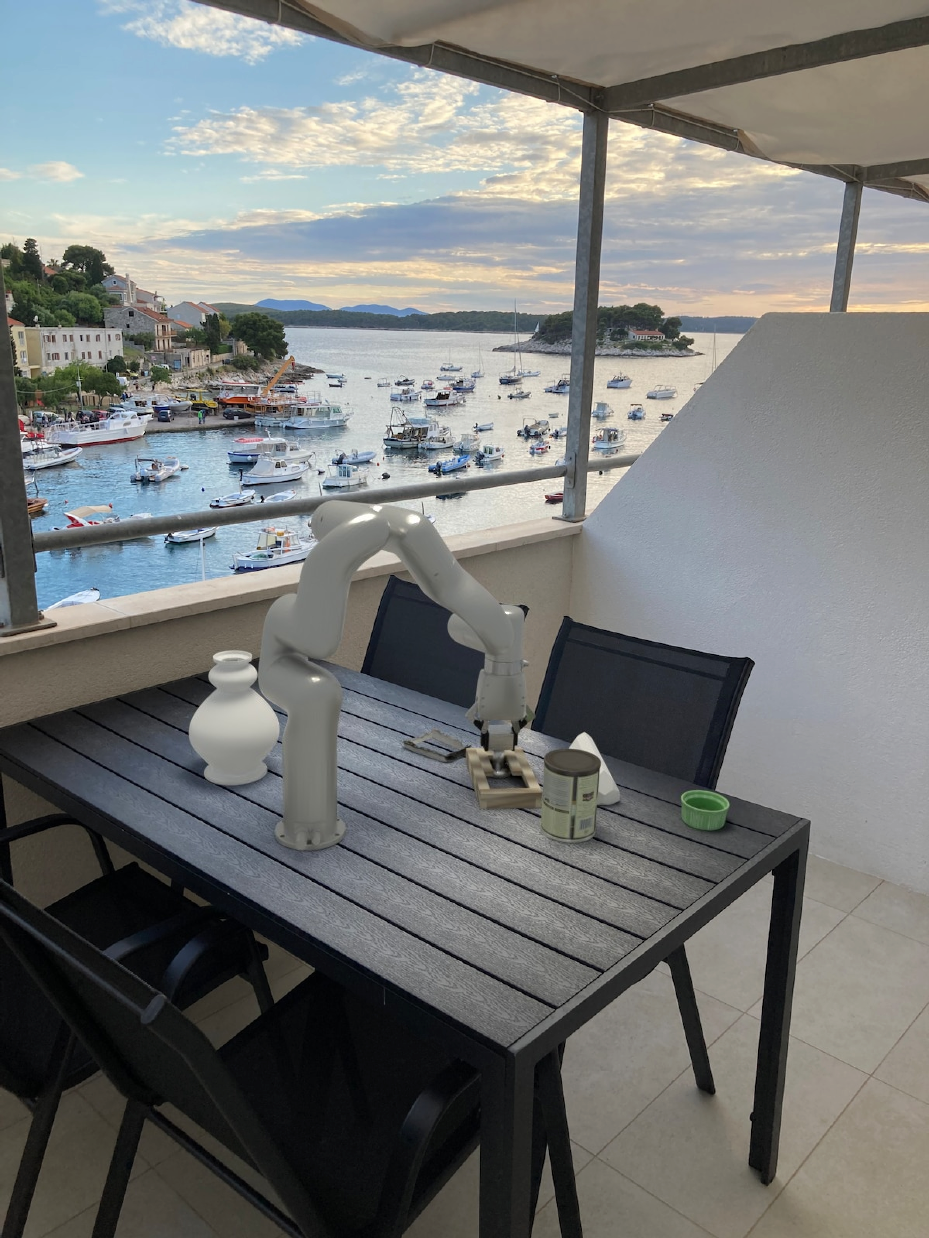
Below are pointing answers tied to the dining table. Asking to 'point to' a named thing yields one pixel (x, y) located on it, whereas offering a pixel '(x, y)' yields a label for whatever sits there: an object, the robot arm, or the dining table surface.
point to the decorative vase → (234, 723)
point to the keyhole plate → (503, 798)
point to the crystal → (607, 786)
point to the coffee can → (570, 795)
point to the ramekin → (704, 809)
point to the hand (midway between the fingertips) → (498, 748)
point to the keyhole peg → (500, 748)
